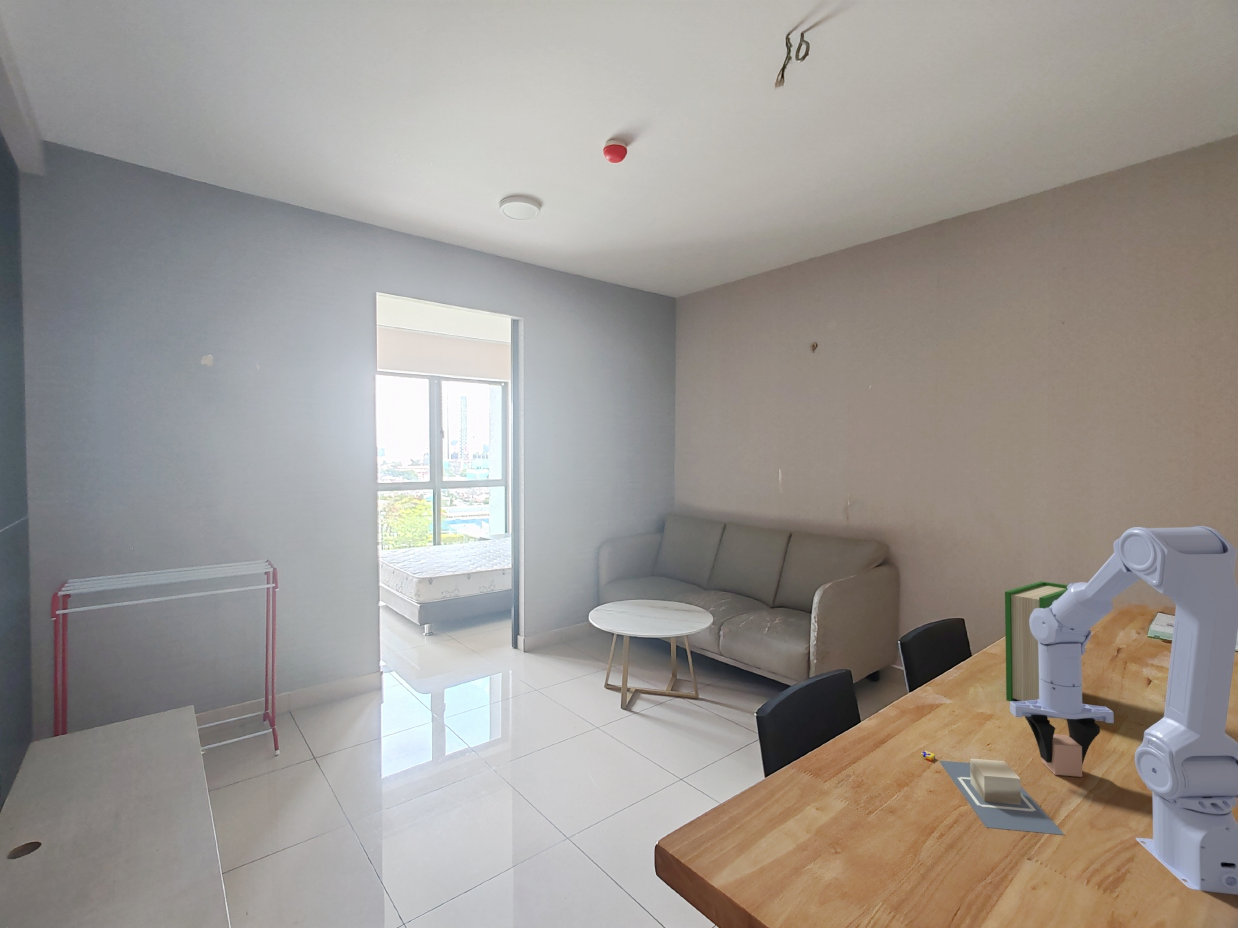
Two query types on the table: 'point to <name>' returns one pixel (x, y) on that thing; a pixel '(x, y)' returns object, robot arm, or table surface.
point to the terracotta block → (1065, 756)
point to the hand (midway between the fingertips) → (1061, 760)
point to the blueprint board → (1001, 806)
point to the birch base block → (995, 781)
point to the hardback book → (1025, 637)
